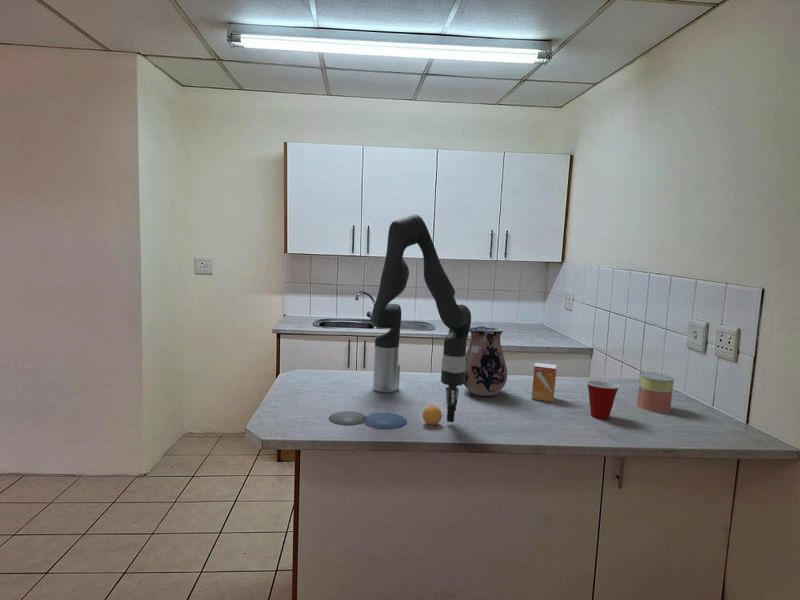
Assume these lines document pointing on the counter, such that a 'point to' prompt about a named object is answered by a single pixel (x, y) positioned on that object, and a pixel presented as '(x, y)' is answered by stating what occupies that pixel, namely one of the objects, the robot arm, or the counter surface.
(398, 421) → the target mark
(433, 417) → the ball
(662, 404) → the canned food
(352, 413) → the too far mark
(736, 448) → the counter surface
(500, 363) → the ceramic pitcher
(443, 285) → the robot arm
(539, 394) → the small box
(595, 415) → the plastic cup
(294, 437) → the counter surface
